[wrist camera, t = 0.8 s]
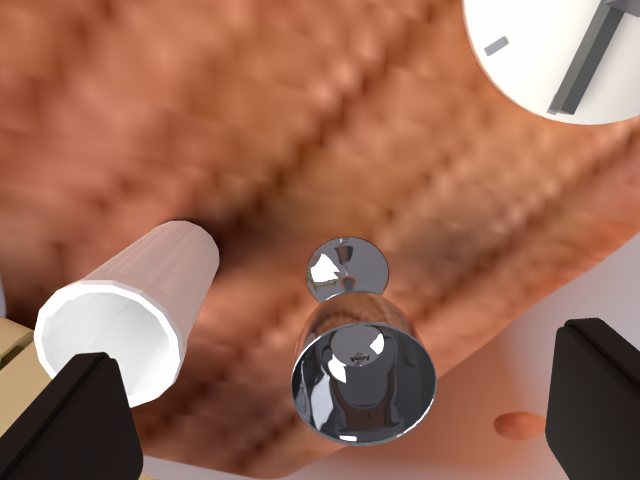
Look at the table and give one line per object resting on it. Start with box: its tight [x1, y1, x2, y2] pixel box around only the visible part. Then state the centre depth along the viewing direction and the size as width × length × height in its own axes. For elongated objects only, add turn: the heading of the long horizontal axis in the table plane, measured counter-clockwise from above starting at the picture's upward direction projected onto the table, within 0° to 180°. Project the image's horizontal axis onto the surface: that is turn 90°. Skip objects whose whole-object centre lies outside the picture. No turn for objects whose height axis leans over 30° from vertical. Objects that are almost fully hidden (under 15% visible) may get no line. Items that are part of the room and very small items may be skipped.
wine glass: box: [291, 237, 437, 446], centre depth 31 cm, size 8×8×15 cm
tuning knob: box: [549, 0, 640, 115], centre depth 26 cm, size 12×4×7 cm, turn 162°
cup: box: [34, 221, 219, 407], centre depth 31 cm, size 8×8×14 cm
